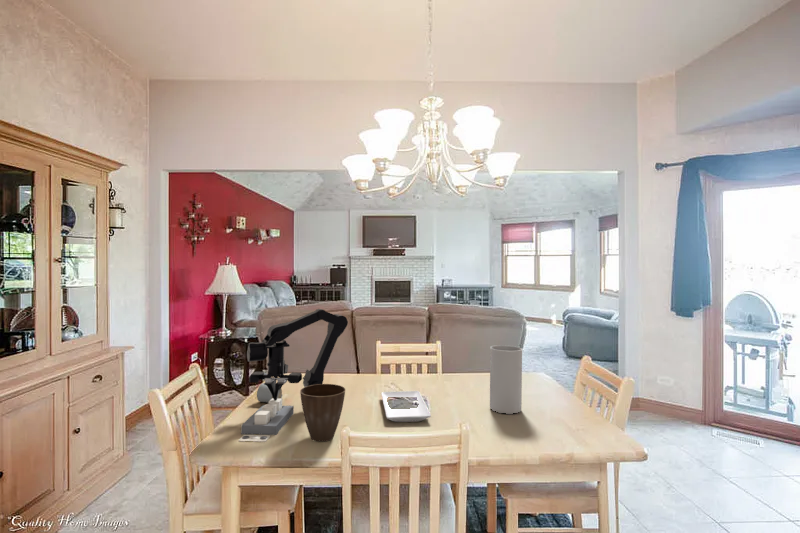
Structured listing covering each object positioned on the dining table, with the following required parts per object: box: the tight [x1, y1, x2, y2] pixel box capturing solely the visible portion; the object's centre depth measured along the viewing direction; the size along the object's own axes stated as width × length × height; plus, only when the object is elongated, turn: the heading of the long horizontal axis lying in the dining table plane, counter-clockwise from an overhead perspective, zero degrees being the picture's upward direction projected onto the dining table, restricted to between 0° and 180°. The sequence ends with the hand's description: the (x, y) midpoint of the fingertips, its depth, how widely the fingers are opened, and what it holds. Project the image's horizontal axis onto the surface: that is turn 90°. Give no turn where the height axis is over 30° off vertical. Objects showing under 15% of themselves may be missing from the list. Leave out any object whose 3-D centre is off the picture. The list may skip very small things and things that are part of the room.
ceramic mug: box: [256, 382, 283, 404], centre depth 178 cm, size 11×8×8 cm
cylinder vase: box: [489, 344, 523, 415], centre depth 171 cm, size 12×12×25 cm
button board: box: [240, 404, 295, 436], centre depth 153 cm, size 12×21×3 cm, turn 178°
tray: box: [380, 390, 432, 423], centre depth 169 cm, size 17×32×4 cm, turn 6°
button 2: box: [268, 398, 283, 411], centre depth 160 cm, size 4×4×4 cm
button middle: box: [261, 403, 277, 418], centre depth 153 cm, size 4×4×4 cm
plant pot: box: [299, 383, 346, 443], centre depth 141 cm, size 15×15×16 cm
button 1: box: [254, 411, 270, 425], centre depth 146 cm, size 4×4×4 cm
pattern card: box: [237, 434, 272, 443], centre depth 139 cm, size 9×5×1 cm, turn 88°
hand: (275, 399), depth 160 cm, fingers closed
